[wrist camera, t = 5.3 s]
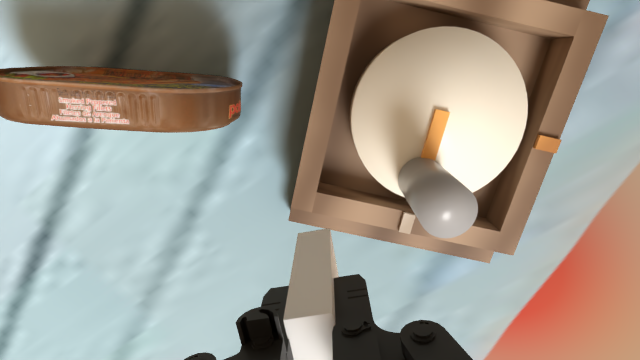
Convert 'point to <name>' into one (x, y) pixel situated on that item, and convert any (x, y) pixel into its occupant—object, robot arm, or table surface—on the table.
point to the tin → (118, 99)
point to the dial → (439, 121)
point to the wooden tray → (511, 183)
